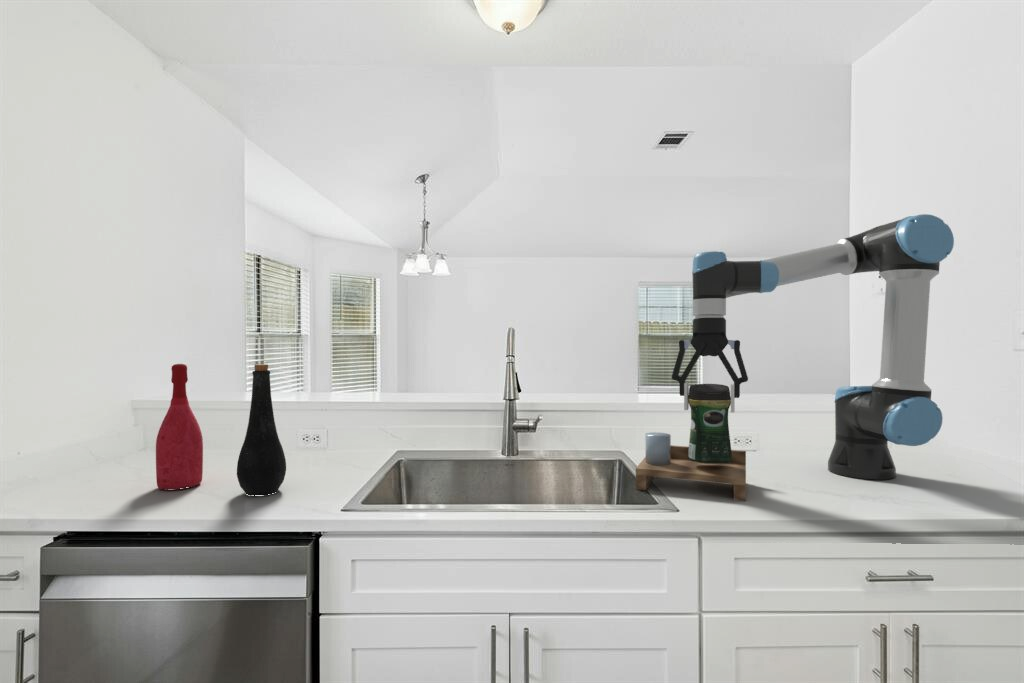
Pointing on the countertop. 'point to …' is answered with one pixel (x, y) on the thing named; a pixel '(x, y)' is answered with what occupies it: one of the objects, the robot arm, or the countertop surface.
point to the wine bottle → (179, 440)
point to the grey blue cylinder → (658, 448)
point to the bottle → (261, 442)
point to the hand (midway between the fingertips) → (709, 410)
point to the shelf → (696, 471)
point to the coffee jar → (709, 424)
